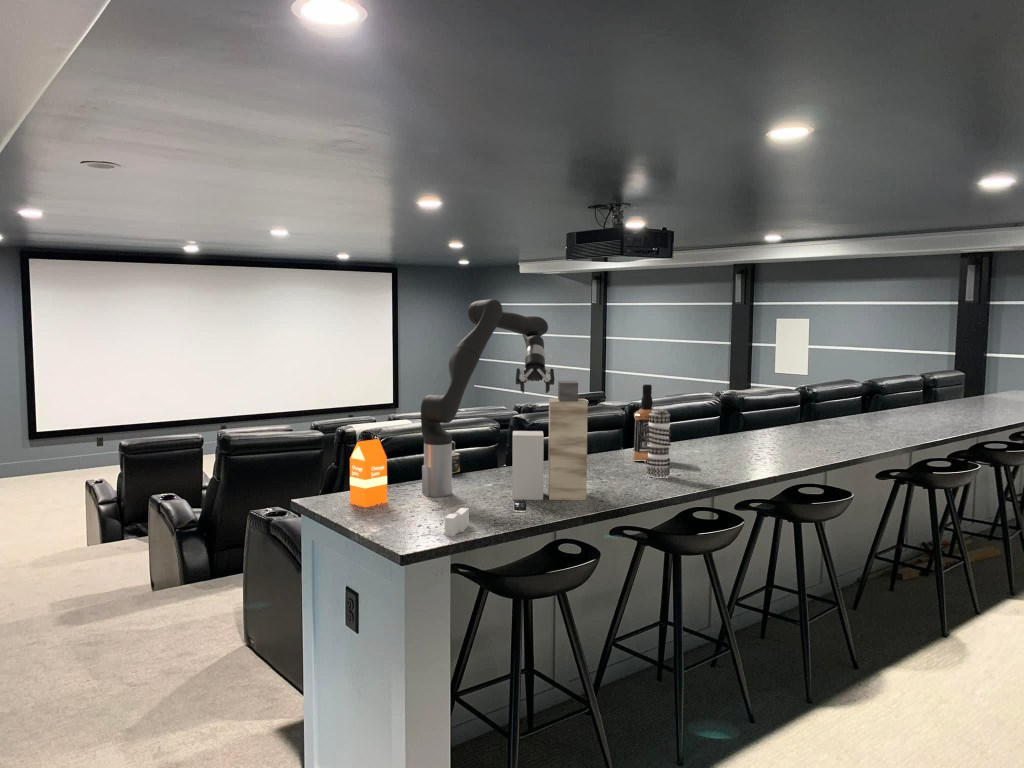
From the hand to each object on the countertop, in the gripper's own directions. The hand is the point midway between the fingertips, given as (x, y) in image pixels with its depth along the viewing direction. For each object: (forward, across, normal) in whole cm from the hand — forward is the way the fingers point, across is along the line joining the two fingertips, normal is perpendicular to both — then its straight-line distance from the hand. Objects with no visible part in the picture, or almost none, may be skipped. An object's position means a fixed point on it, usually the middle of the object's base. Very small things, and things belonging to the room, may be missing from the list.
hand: (535, 391), depth 266 cm
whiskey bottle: (-7, +47, +52) cm, 71 cm away
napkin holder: (+72, -22, -22) cm, 79 cm away
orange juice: (+50, -53, -2) cm, 72 cm away
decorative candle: (+17, +47, +29) cm, 57 cm away
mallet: (+16, +10, -14) cm, 24 cm away
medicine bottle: (+13, -33, +33) cm, 48 cm away
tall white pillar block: (+41, -2, +6) cm, 42 cm away
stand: (+41, +10, +6) cm, 43 cm away
